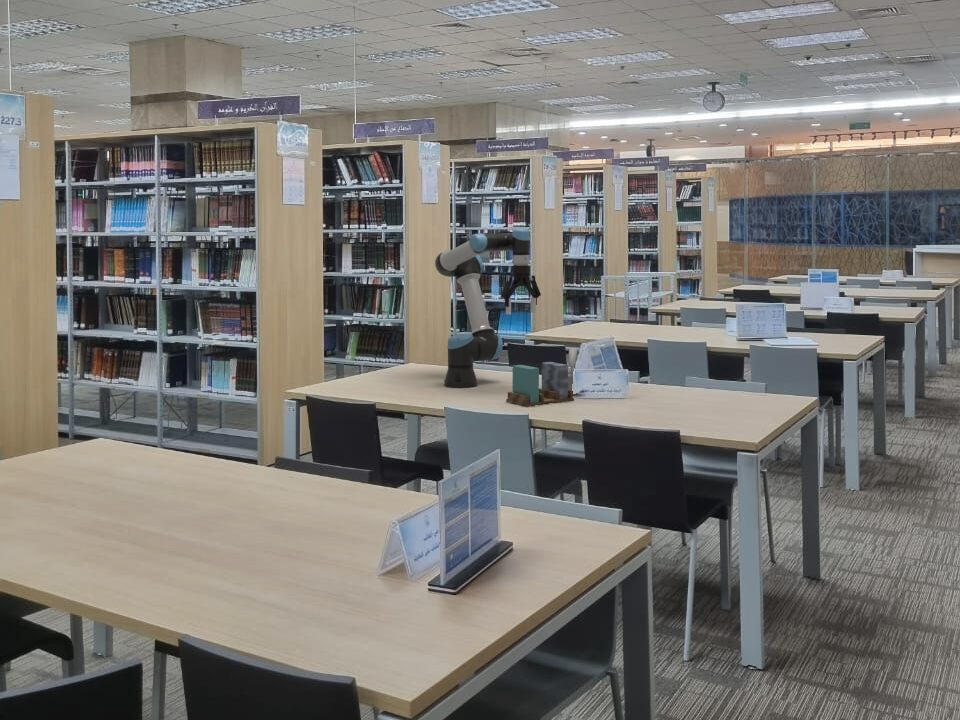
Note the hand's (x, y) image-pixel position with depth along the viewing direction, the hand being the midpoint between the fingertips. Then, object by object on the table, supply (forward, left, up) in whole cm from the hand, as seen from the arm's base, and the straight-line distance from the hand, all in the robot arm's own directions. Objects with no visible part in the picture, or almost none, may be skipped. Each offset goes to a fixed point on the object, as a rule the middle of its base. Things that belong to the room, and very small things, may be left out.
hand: (520, 313), depth 430 cm
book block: (+24, -16, -34) cm, 44 cm away
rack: (+24, -8, -35) cm, 43 cm away
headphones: (+17, +16, -35) cm, 42 cm away
